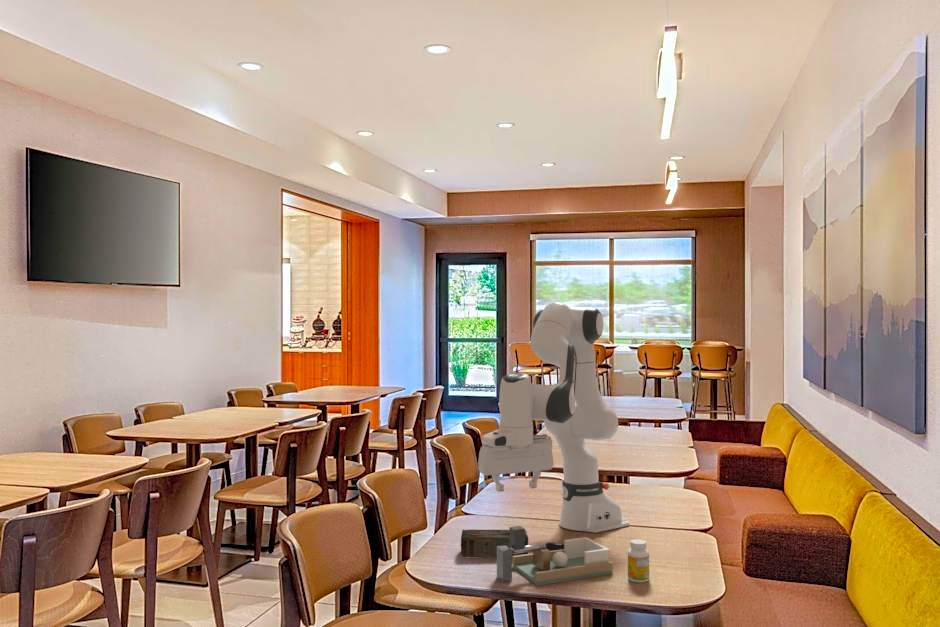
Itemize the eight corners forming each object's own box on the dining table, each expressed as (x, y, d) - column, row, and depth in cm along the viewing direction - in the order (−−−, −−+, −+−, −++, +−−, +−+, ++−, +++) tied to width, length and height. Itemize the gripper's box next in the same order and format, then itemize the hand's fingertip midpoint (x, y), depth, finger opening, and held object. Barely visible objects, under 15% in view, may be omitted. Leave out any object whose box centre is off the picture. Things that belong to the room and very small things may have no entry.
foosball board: (584, 556, 217) (583, 535, 217) (612, 573, 203) (612, 551, 203) (512, 567, 209) (512, 545, 209) (537, 585, 195) (537, 561, 195)
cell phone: (571, 547, 227) (571, 544, 227) (558, 561, 214) (558, 559, 214) (547, 544, 230) (547, 542, 230) (532, 558, 217) (532, 555, 217)
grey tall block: (505, 575, 202) (505, 545, 202) (512, 580, 198) (511, 549, 198) (496, 577, 201) (496, 546, 201) (503, 582, 197) (502, 550, 197)
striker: (539, 563, 207) (539, 521, 206) (550, 570, 201) (549, 527, 201) (505, 568, 203) (505, 525, 203) (515, 576, 197) (514, 531, 197)
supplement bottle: (625, 576, 201) (625, 538, 201) (645, 575, 201) (645, 538, 201) (631, 583, 196) (631, 545, 195) (652, 582, 196) (651, 544, 196)
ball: (563, 563, 208) (563, 548, 208) (570, 568, 204) (570, 553, 204) (550, 565, 207) (549, 550, 206) (557, 570, 203) (556, 555, 203)
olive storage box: (529, 558, 217) (529, 534, 217) (461, 559, 216) (460, 536, 216) (526, 549, 225) (526, 526, 224) (460, 550, 224) (460, 528, 224)
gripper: (546, 432, 207) (546, 483, 207) (475, 437, 200) (476, 490, 200) (557, 435, 201) (557, 488, 202) (485, 440, 194) (485, 495, 194)
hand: (516, 489), depth 201 cm, fingers open, 8 cm apart
